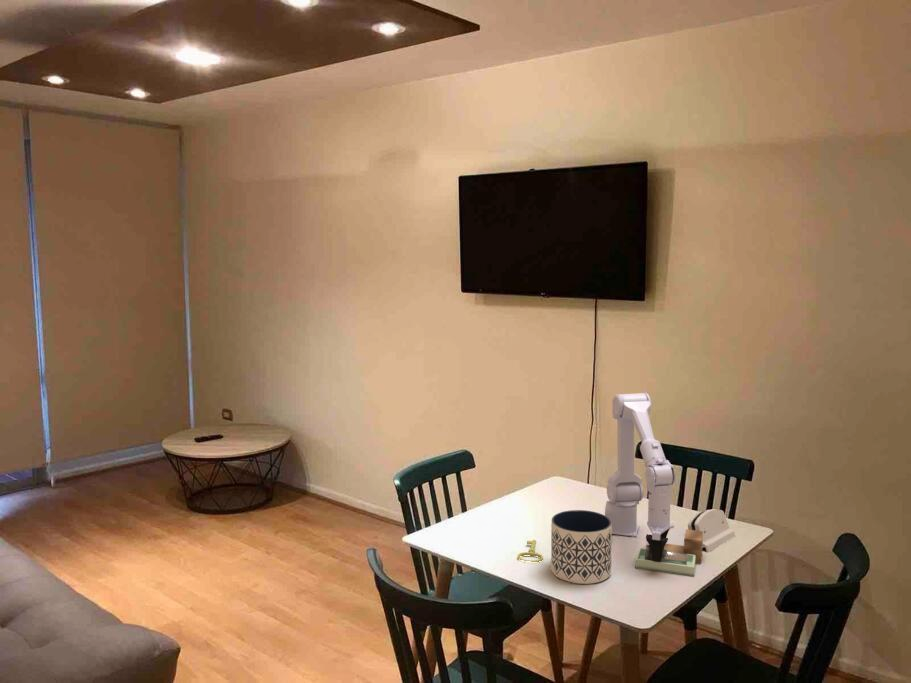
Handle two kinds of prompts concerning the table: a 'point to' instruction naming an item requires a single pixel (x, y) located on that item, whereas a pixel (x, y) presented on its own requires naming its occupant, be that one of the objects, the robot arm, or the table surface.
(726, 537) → the white curved plastic device
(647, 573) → the table surface
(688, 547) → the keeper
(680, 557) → the pin
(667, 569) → the tray
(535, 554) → the key
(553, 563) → the planter
